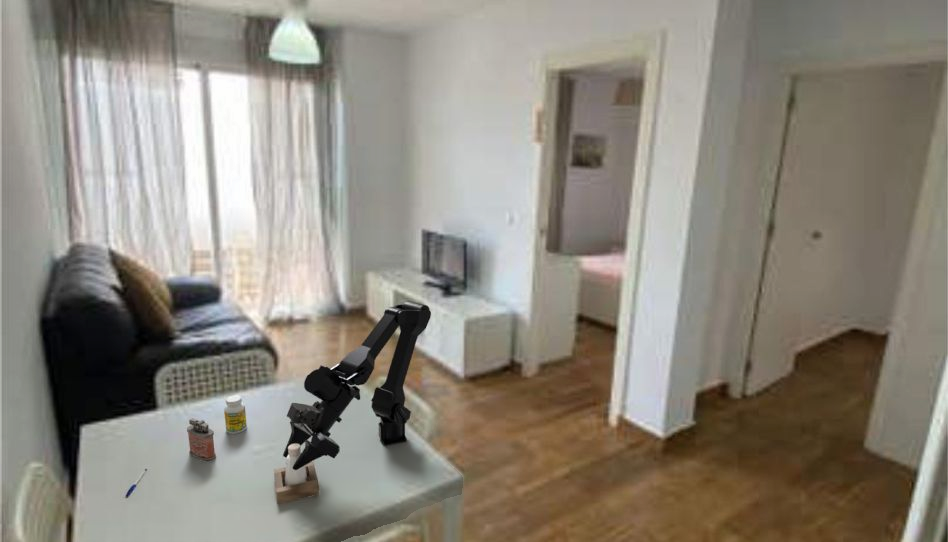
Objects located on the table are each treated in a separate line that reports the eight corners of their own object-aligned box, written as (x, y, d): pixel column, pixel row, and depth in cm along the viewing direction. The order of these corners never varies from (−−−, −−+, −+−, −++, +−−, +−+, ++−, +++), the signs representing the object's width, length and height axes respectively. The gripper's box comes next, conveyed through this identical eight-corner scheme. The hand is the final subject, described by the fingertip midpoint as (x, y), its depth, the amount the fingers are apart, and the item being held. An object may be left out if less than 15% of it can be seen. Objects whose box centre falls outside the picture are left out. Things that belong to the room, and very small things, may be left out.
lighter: (219, 456, 136) (216, 421, 134) (208, 463, 133) (204, 428, 131) (197, 448, 140) (194, 414, 137) (186, 455, 137) (182, 420, 134)
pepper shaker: (286, 497, 122) (283, 455, 119) (282, 484, 126) (280, 442, 124) (310, 491, 124) (308, 449, 122) (306, 478, 129) (304, 437, 126)
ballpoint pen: (129, 497, 120) (128, 493, 120) (125, 498, 120) (124, 494, 120) (147, 470, 130) (147, 466, 130) (143, 470, 130) (143, 467, 130)
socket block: (313, 472, 131) (313, 461, 131) (319, 494, 123) (318, 483, 122) (274, 480, 128) (273, 469, 127) (277, 504, 119) (276, 492, 119)
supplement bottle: (244, 422, 153) (242, 392, 151) (248, 431, 149) (246, 400, 147) (224, 427, 150) (221, 396, 148) (227, 436, 146) (225, 404, 144)
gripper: (293, 376, 129) (249, 431, 125) (324, 406, 115) (276, 469, 111) (325, 397, 136) (284, 449, 132) (358, 428, 122) (314, 488, 118)
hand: (289, 462), depth 123 cm, fingers open, 6 cm apart
